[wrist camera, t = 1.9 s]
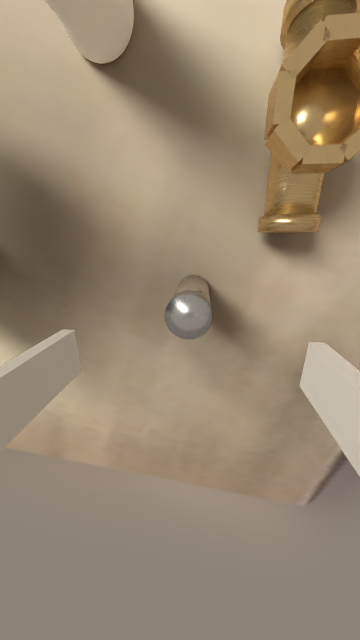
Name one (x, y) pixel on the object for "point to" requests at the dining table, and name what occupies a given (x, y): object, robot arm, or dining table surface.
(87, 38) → the water bottle
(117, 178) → the dining table surface
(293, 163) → the tee fitting
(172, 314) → the metal cylinder
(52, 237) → the dining table surface
